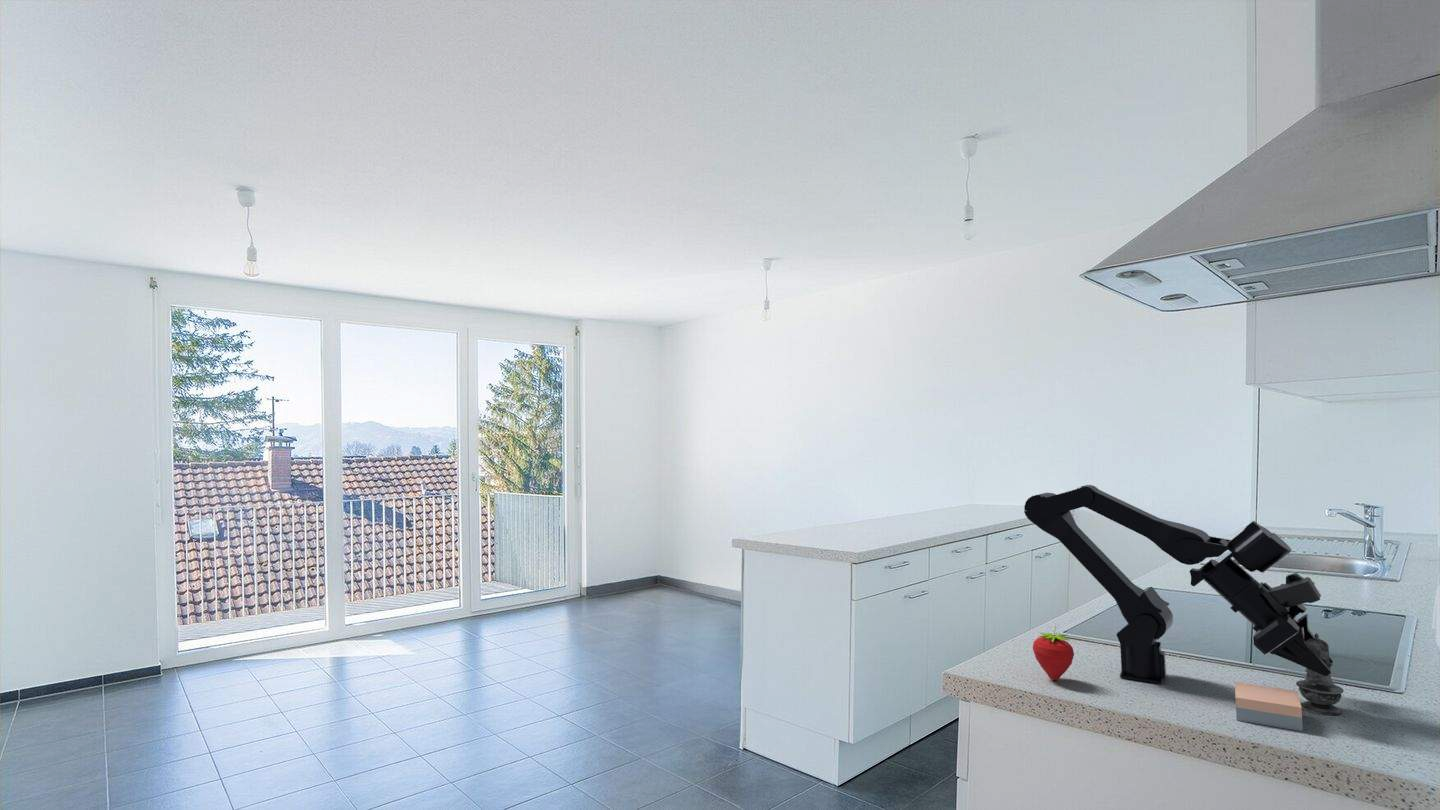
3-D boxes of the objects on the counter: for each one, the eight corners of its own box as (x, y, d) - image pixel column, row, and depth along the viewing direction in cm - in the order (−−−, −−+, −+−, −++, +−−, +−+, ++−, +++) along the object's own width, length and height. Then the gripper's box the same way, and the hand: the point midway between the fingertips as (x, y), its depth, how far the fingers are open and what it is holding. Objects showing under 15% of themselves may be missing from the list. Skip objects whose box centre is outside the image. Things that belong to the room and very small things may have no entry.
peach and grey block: (1236, 720, 112) (1235, 697, 112) (1236, 703, 118) (1235, 682, 118) (1302, 731, 107) (1301, 707, 107) (1298, 713, 113) (1297, 691, 114)
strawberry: (1048, 671, 136) (1046, 618, 136) (1083, 683, 129) (1081, 627, 129) (1025, 676, 133) (1023, 622, 134) (1060, 689, 127) (1057, 632, 127)
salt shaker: (1322, 701, 118) (1318, 627, 118) (1355, 715, 112) (1350, 637, 113) (1287, 702, 118) (1283, 628, 118) (1318, 717, 112) (1314, 639, 112)
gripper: (1275, 568, 112) (1376, 653, 104) (1286, 551, 125) (1376, 625, 118) (1217, 612, 117) (1308, 696, 109) (1233, 591, 130) (1316, 665, 123)
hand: (1329, 668), depth 114 cm, fingers open, 6 cm apart
